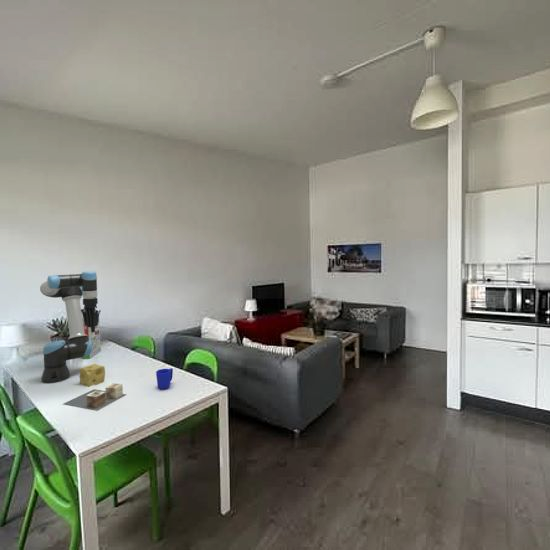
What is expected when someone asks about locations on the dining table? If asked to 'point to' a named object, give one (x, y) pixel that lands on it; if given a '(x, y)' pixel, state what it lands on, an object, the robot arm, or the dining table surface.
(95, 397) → the walnut block
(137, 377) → the dining table surface
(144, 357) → the dining table surface
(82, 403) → the rubber mat
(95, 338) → the game box
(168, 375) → the mug
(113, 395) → the maple block
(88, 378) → the cheese
